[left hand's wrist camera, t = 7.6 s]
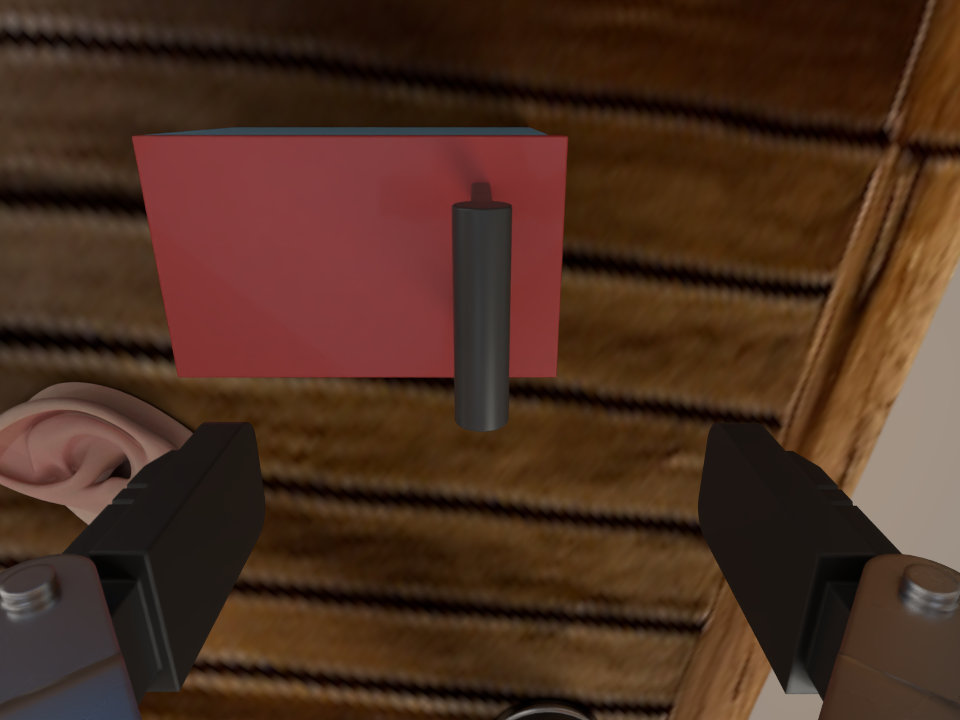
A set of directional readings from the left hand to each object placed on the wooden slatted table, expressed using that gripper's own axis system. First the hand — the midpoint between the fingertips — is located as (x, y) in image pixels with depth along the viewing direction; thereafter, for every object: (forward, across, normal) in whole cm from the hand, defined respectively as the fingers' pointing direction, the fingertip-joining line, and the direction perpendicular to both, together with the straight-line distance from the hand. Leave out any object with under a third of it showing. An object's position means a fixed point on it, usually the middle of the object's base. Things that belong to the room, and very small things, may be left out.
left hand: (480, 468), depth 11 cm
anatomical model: (+26, +23, +16) cm, 38 cm away
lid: (+16, +5, 0) cm, 17 cm away
